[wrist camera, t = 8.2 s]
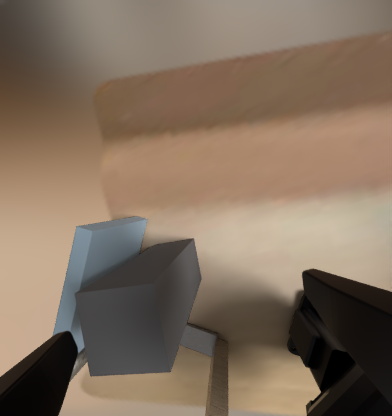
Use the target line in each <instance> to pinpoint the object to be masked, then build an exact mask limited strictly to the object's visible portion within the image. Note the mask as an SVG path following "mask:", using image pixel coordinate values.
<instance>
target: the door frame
mask: <svg viewBox="0 0 392 416" xmlns="http://www.w3.org/2000/svg"><path fill="white" fill-rule="evenodd" d="M180 345H182V346H185V347H187V348H190V349H192V350H195V351H198V352H200V353H203V354H206V355H208V356H211V365H210V375H209V385H208V395H207V404H206V414H205V416H228V342H226V341H223V340H220V339H217V334H216V333H214V332H211V331H208V330H205V329H203V328H200V327H197V326H194V325H192V324H189V323H187V324H186V327H185V330H184V333H183V336H182V339H181V342H180ZM86 362H87V357H86V351H85V347H84V348H83V349H82V350H81V351H80V352H79V353H78V356H77V359H76V362H75V366H74V369H73V372H72V375H71V379H70V381H71V380H72V378H73V377H74V376H75V375H76V374H77V373H78V372H79V370H80V369H81V368H82V367H83V366H84V365H85V364H86Z"/></svg>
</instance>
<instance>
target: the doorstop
mask: <svg viewBox="0 0 392 416" xmlns="http://www.w3.org/2000/svg"><path fill="white" fill-rule="evenodd" d="M200 282H201V274H200V268H199V263H198V258H197V253H196V247H195V242H194V239H188V240H182V241H175V242H169V243H163V244H157V245H154V246H152V247H151V248H149V249H148V250H146V251H144V252H143V253H141V254H139V255H138V256H136V257H134V258H133V259H131V260H129V261H128V262H126V263H124V264H123V265H121V266H119V267H118V268H116V269H114V270H113V271H111V272H109V273H108V274H106V275H104V276H103V277H101V278H99V279H98V280H96V281H94V282H93V283H91V284H89V285H88V286H86V287H84V288H83V289H81V290H80V291H78V292H76V293H75V299H76V305H77V310H78V315H79V320H80V325H81V331H82V336H83V341H84V346H85V351H86V357H87V362H88V367H89V372H90V376H107V375H125V374H144V373H162V372H171V369H172V366H173V363H174V360H175V357H176V354H177V351H178V348H179V345H180V342H181V339H182V336H183V333H184V330H185V327H186V324H187V321H188V318H189V315H190V312H191V309H192V306H193V303H194V300H195V297H196V294H197V291H198V288H199V285H200Z"/></svg>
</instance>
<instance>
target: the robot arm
mask: <svg viewBox="0 0 392 416" xmlns="http://www.w3.org/2000/svg"><path fill="white" fill-rule="evenodd" d="M302 278H303V287H304V293H303V296H302V299H301V303H300V306H299V309H297V310H296V311H295V315H294V318H293V321H292V324H291V327H290V331H289V334H290V338H289V341H288V344H287V346H288V349H289V351H290V352H291V353H293V354H295V355H298V356H300V357H301V359H302V361H303V363H304V365H305V367H308V368H310V370H311V373H312V375H313V377H314V379H315V381H316V383H317V385H318V387H319V389H320V391H321V393H320V394H319V395H318V396H317V397H316V398H315V399H314V400H313V401H312V400H311V401H310V402H309V403H308V404H307V405H306V411H307V416H392V292H390V291H387V290H384V289H380V288H377V287H374V286H370V285H367V284H364V283H360V282H357V281H354V280H350V279H347V278H344V277H340V276H337V275H334V274H330V273H327V272H323V271H320V270H317V269H309V270H305V271H303V272H302ZM293 346H295V348H291V347H293ZM77 356H78V347H77V344H76V342H75V340H74V338H73V336H72V333H71V332H70V331H64V332H60V333H57V334H55V335H54V336H52V337H51V338H50V339H49V340H47V341H46V342H45V343H43V344H42V345H41V346H40V347H38V348H37V349H36V350H34V351H33V352H32V353H31V354H29V355H28V356H27V357H25V358H24V359H23V360H22V361H20V362H19V363H18V364H16V365H15V366H14V367H13V368H11V369H10V370H9V371H7V372H6V373H5V374H4V375H2V376H1V377H0V416H58V415H59V412H60V410H61V407H62V404H63V401H64V397H65V395H66V392H67V388H68V385H69V382H70V379H71V375H72V372H73V369H74V366H75V362H76V359H77Z"/></svg>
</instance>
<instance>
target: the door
mask: <svg viewBox="0 0 392 416" xmlns="http://www.w3.org/2000/svg"><path fill="white" fill-rule="evenodd" d="M147 220H148V219H145V218H142V217H138V216H136V217H130V218H124V219H118V220H112V221H106V222H100V223H94V224H88V225H83V226H77V227H76V232H75V236H74V241H73V245H72V250H71V254H70V259H69V264H68V269H67V273H66V278H65V282H64V286H63V291H62V296H61V300H60V305H59V309H58V314H57V319H56V324H55V328H54V332H53V336H54V335H55V334H57V333H60V332H64V331H70V332H71V333H72V336H73V338H74V340H75V342H76V344H77V347H78V353H79V352H80V351H81V350H82V349H83V348H84V347H85V346H84V341H83V336H82V331H81V325H80V320H79V315H78V310H77V305H76V299H75V293H76V292H78V291H80V290H81V289H83V288H84V287H86V286H88V285H89V284H91V283H93V282H94V281H96V280H98V279H99V278H101V277H103V276H104V275H106V274H108V273H109V272H111V271H113V270H114V269H116V268H118V267H119V266H121V265H123V264H124V263H126V262H128V261H129V260H131V259H133V258H134V257H136V256H138V255H139V252H140V248H141V244H142V240H143V236H144V232H145V228H146V224H147Z"/></svg>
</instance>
